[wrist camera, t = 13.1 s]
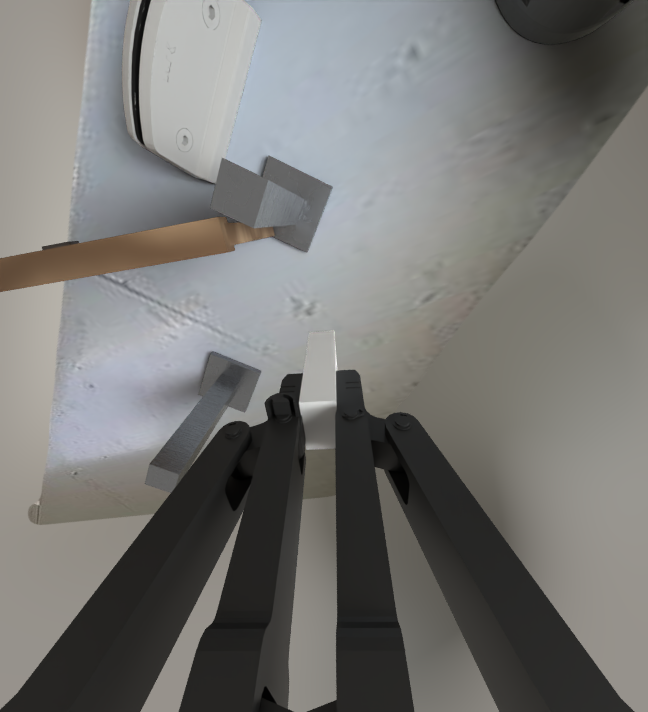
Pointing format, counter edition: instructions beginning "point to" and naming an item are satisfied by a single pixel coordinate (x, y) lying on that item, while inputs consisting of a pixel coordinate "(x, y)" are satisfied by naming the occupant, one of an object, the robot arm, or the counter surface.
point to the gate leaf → (125, 252)
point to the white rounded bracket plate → (186, 77)
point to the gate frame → (223, 375)
